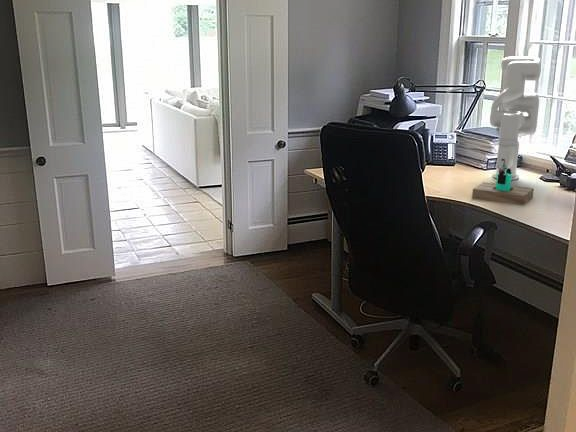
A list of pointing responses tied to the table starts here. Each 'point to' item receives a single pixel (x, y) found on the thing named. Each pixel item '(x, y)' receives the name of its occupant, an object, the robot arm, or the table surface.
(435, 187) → the table surface
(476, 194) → the wooden socket board
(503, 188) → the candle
